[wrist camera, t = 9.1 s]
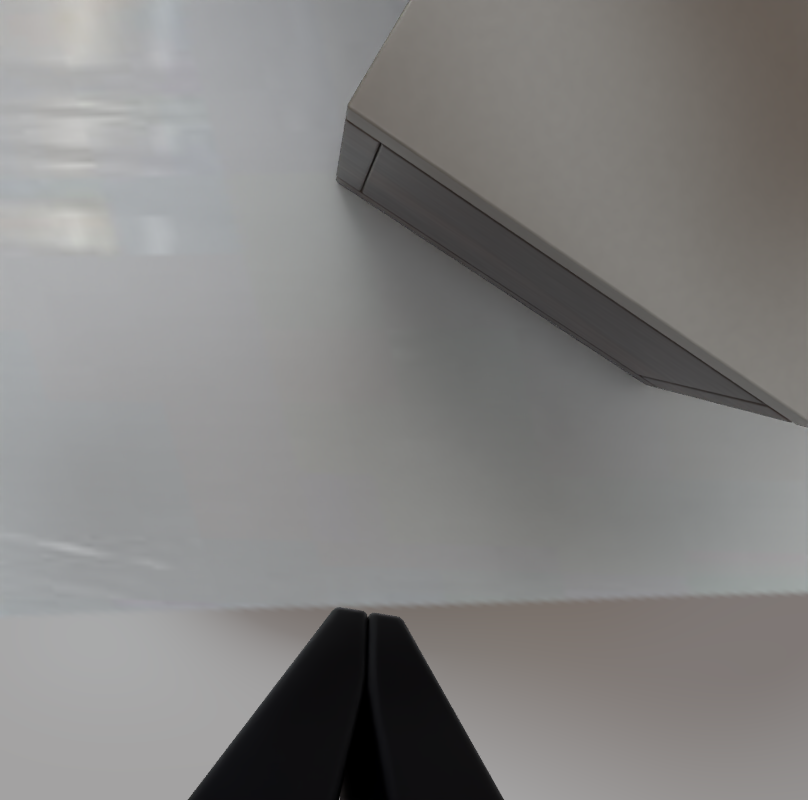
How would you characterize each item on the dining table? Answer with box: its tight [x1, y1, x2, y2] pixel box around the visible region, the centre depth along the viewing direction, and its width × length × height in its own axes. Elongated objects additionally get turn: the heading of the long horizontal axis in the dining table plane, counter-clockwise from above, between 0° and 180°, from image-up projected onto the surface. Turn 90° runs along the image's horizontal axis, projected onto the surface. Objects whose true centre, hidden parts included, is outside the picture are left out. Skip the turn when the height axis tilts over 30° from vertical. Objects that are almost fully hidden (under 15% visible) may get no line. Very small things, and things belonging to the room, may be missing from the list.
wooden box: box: [336, 119, 792, 422], centre depth 17 cm, size 13×12×7 cm
